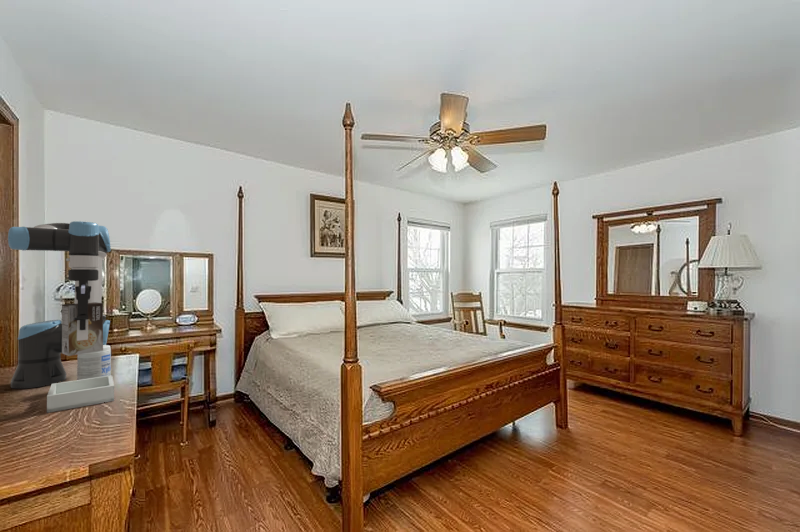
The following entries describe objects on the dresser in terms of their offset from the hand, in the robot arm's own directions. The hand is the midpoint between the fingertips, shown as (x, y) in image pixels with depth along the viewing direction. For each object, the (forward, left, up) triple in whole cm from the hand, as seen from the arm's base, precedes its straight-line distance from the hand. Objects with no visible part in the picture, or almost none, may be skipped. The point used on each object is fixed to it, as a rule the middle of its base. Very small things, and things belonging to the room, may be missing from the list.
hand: (82, 338), depth 120 cm
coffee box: (0, 0, -5) cm, 5 cm away
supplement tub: (-17, +3, -21) cm, 27 cm away
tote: (-2, 0, -21) cm, 21 cm away
